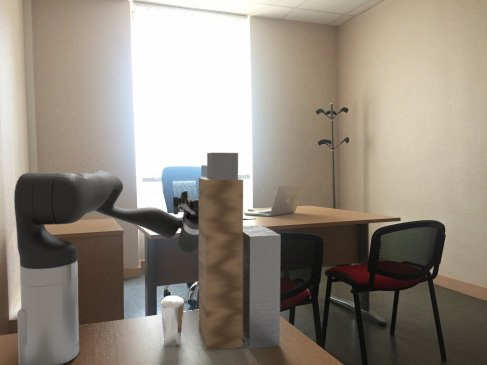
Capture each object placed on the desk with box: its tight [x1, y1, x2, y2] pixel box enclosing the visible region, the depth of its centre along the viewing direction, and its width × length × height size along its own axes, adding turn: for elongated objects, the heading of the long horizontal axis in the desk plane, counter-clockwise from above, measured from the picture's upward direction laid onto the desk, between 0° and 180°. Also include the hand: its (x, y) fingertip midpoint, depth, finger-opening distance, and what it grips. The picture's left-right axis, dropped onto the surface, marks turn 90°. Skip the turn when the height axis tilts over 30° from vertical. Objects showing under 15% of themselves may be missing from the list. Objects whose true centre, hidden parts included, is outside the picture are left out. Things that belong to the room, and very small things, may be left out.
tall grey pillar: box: [242, 224, 282, 350], centre depth 81 cm, size 6×12×22 cm, turn 14°
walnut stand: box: [198, 177, 244, 351], centre depth 79 cm, size 7×10×32 cm
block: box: [200, 152, 239, 180], centre depth 82 cm, size 5×19×5 cm, turn 14°
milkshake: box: [160, 294, 188, 348], centre depth 77 cm, size 4×5×10 cm
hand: (203, 193), depth 99 cm, fingers open, 8 cm apart
